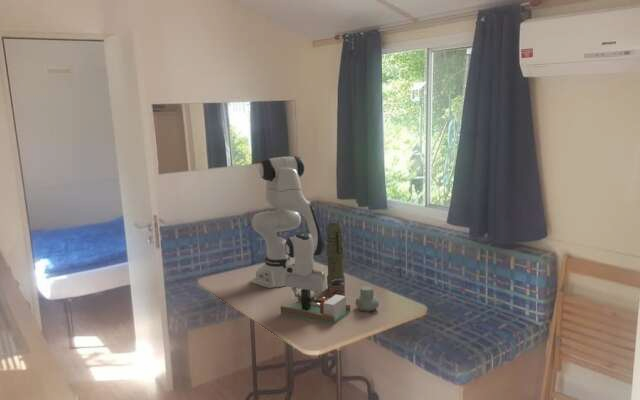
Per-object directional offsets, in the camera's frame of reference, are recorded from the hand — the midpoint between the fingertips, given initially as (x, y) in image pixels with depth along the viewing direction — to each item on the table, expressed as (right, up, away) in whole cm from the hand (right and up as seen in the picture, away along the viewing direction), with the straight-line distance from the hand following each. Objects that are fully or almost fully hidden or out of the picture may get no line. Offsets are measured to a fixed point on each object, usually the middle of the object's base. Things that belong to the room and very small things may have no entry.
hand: (305, 298), depth 232 cm
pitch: (+5, -6, -1) cm, 8 cm away
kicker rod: (+4, -5, -1) cm, 7 cm away
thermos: (+15, -1, +28) cm, 32 cm away
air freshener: (+28, -6, +1) cm, 29 cm away
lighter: (+15, -4, +14) cm, 21 cm away
